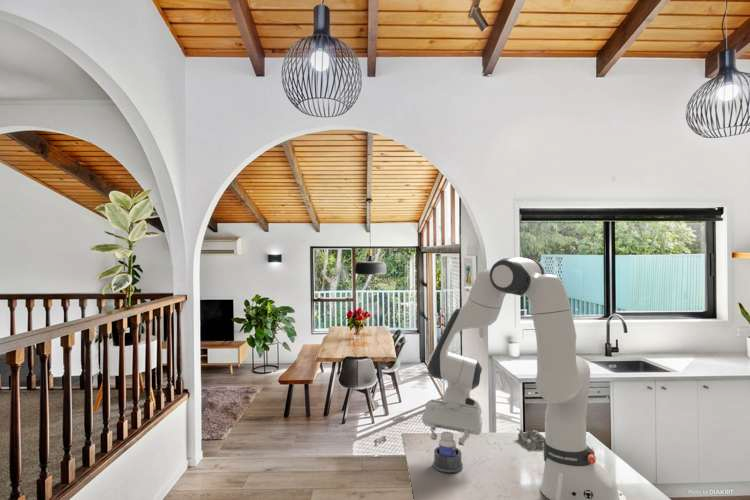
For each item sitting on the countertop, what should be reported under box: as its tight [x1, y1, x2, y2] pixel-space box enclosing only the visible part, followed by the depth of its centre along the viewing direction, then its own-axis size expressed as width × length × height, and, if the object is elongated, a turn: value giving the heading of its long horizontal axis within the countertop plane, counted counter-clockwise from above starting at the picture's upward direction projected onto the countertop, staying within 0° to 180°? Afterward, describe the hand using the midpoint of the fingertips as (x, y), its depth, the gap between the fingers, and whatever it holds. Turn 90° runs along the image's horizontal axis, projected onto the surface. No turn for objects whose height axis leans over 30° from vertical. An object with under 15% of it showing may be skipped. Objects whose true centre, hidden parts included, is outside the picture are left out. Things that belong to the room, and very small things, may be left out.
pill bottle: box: [438, 431, 457, 456], centre depth 145 cm, size 5×5×10 cm
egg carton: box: [516, 428, 545, 450], centre depth 162 cm, size 11×8×4 cm
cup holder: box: [432, 446, 464, 475], centre depth 144 cm, size 10×10×5 cm
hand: (446, 441), depth 144 cm, fingers open, 8 cm apart
